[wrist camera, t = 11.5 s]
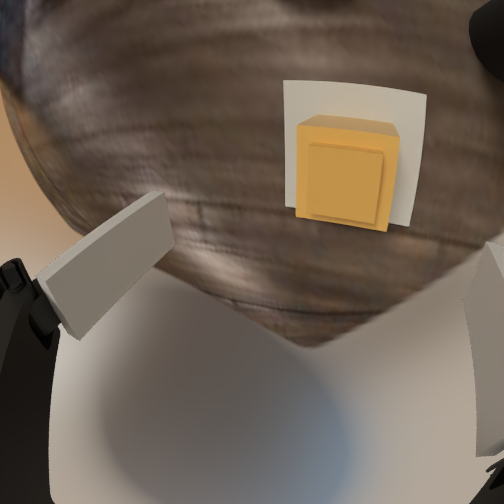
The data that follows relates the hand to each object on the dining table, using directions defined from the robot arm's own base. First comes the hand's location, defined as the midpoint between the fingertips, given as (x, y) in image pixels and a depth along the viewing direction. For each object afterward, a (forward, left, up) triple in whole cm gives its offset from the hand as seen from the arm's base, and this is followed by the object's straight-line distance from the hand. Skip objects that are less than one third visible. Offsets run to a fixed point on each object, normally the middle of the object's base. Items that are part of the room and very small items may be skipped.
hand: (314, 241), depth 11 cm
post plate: (0, 0, -17) cm, 17 cm away
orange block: (0, 0, -16) cm, 16 cm away
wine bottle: (+14, +13, -17) cm, 25 cm away
